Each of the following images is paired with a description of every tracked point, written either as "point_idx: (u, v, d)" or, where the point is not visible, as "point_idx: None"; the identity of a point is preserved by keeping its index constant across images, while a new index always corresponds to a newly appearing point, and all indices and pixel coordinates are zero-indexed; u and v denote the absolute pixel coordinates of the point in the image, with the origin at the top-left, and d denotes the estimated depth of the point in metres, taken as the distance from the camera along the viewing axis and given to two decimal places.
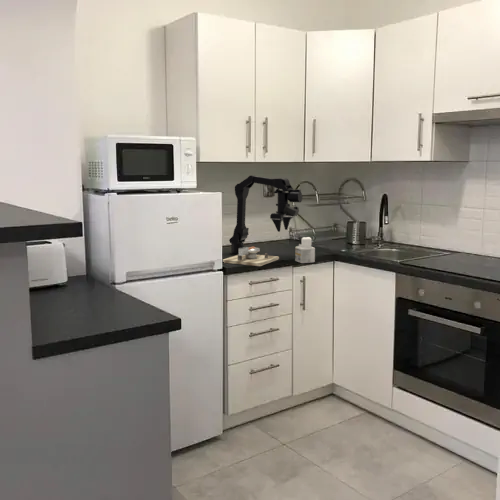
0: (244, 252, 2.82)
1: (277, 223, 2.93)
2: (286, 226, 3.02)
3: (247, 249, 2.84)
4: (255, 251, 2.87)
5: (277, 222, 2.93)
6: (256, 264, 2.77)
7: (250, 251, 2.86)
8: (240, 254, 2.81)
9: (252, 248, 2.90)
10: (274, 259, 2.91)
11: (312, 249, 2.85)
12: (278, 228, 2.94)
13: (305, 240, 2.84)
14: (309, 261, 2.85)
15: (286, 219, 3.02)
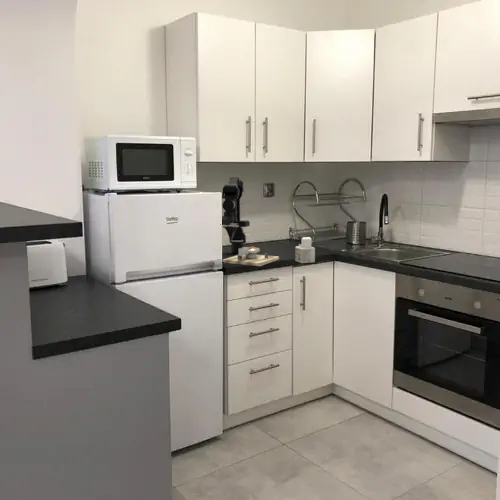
0: (244, 252, 2.82)
1: None
2: None
3: (247, 249, 2.84)
4: (255, 251, 2.87)
5: None
6: (256, 264, 2.77)
7: (250, 251, 2.86)
8: (240, 254, 2.81)
9: (252, 248, 2.90)
10: (274, 259, 2.91)
11: (312, 249, 2.85)
12: None
13: (305, 240, 2.84)
14: (309, 261, 2.85)
15: None
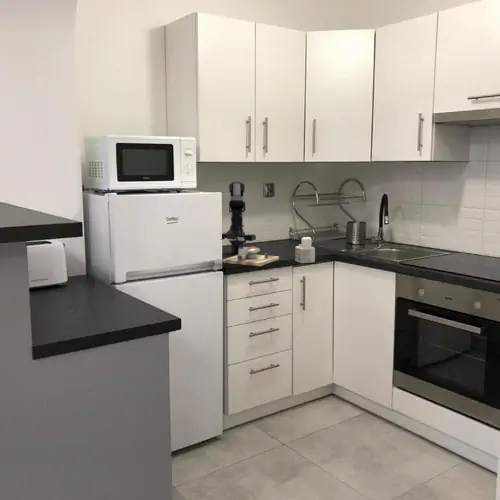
0: (244, 252, 2.82)
1: None
2: None
3: (247, 249, 2.84)
4: (255, 251, 2.87)
5: None
6: (256, 264, 2.77)
7: (250, 251, 2.86)
8: (240, 254, 2.81)
9: (252, 248, 2.90)
10: (274, 259, 2.91)
11: (312, 249, 2.85)
12: None
13: (305, 240, 2.84)
14: (309, 261, 2.85)
15: None
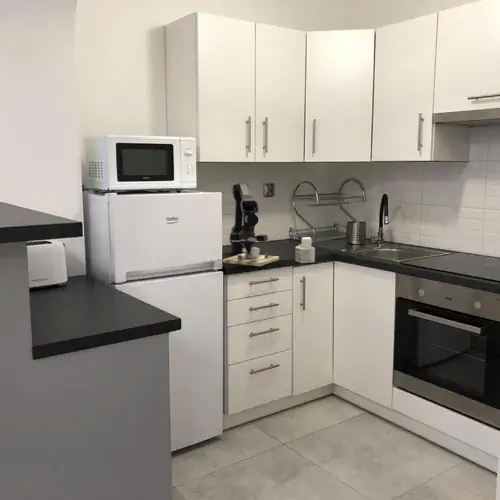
0: None
1: None
2: None
3: None
4: (259, 250, 2.89)
5: None
6: (256, 264, 2.77)
7: None
8: (256, 254, 2.80)
9: None
10: (274, 259, 2.91)
11: (312, 249, 2.85)
12: None
13: (305, 240, 2.84)
14: (309, 261, 2.85)
15: None
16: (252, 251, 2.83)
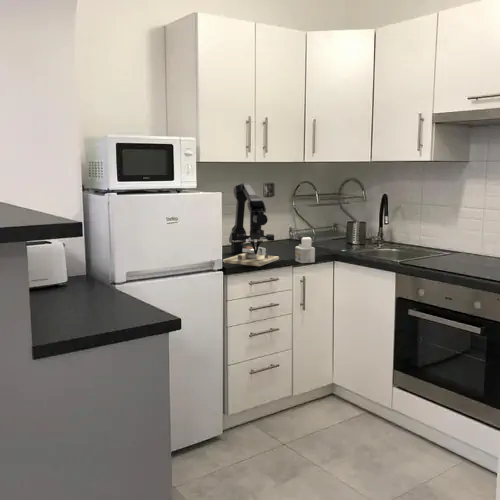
0: None
1: None
2: None
3: None
4: None
5: None
6: (256, 264, 2.77)
7: None
8: (263, 254, 2.82)
9: None
10: (274, 259, 2.91)
11: (312, 249, 2.85)
12: (254, 250, 2.81)
13: (305, 240, 2.84)
14: (309, 261, 2.85)
15: None
16: (257, 251, 2.84)
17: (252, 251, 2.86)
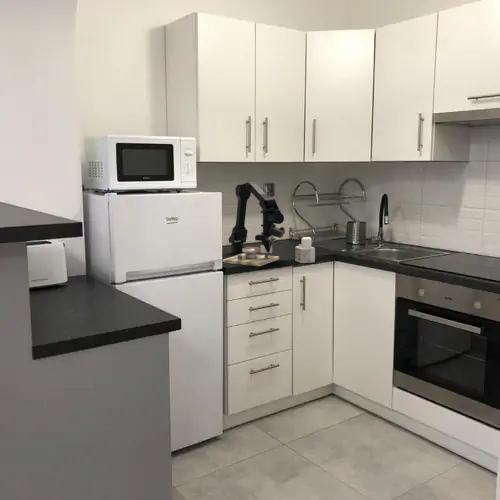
0: None
1: (266, 244, 2.85)
2: None
3: None
4: None
5: (266, 243, 2.85)
6: (256, 264, 2.77)
7: None
8: None
9: None
10: (274, 259, 2.91)
11: (312, 249, 2.85)
12: (267, 249, 2.86)
13: (305, 240, 2.84)
14: (309, 261, 2.85)
15: None
16: (265, 249, 2.89)
17: (258, 250, 2.88)
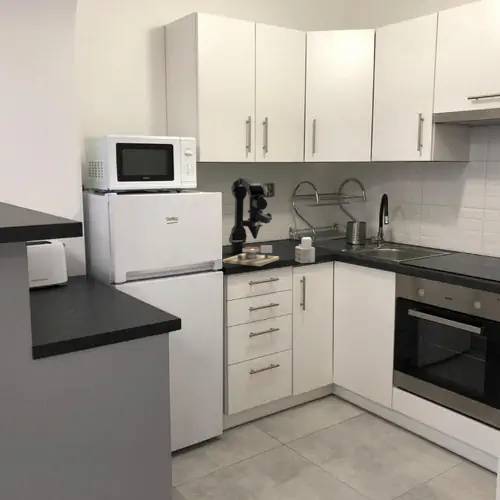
0: None
1: (253, 230, 2.83)
2: None
3: None
4: None
5: (253, 229, 2.83)
6: (256, 264, 2.77)
7: None
8: None
9: None
10: (274, 259, 2.91)
11: (312, 249, 2.85)
12: (254, 235, 2.84)
13: (305, 240, 2.84)
14: (309, 261, 2.85)
15: None
16: (265, 249, 2.89)
17: (258, 250, 2.88)
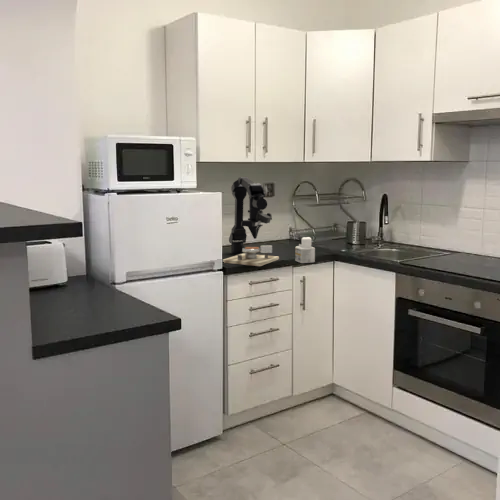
0: None
1: (253, 230, 2.83)
2: None
3: None
4: None
5: (253, 229, 2.83)
6: (256, 264, 2.77)
7: None
8: None
9: None
10: (274, 259, 2.91)
11: (312, 249, 2.85)
12: (254, 235, 2.84)
13: (305, 240, 2.84)
14: (309, 261, 2.85)
15: None
16: (265, 249, 2.89)
17: (258, 250, 2.88)
